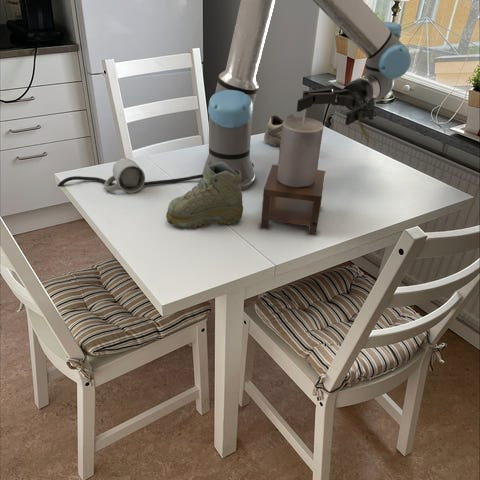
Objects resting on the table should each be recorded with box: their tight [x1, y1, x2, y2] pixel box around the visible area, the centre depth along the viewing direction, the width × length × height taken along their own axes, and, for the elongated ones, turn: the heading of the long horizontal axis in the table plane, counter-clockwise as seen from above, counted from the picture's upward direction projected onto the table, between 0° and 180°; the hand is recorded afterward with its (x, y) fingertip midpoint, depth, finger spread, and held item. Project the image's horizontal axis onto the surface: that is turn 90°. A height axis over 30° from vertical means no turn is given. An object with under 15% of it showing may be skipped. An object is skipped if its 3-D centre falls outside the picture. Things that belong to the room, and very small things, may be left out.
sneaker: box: [165, 162, 244, 229], centre depth 125 cm, size 11×19×15 cm, turn 88°
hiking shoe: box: [263, 113, 297, 147], centre depth 168 cm, size 9×21×12 cm, turn 50°
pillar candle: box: [277, 116, 324, 187], centre depth 121 cm, size 10×10×15 cm
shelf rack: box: [260, 164, 326, 236], centre depth 130 cm, size 14×15×11 cm
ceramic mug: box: [103, 157, 146, 194], centre depth 140 cm, size 11×8×8 cm
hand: (322, 112), depth 123 cm, fingers open, 13 cm apart
